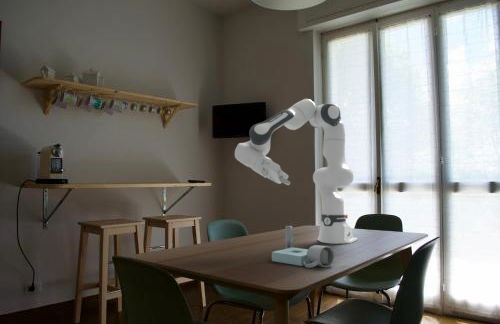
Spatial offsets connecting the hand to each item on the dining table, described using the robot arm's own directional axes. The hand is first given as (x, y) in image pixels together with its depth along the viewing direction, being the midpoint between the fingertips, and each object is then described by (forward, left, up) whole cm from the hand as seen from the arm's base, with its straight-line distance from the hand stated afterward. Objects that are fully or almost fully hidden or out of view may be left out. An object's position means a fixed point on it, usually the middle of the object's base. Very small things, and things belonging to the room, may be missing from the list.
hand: (288, 180), depth 176 cm
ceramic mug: (+18, +26, -32) cm, 45 cm away
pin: (+5, +4, -32) cm, 33 cm away
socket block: (+14, +14, -32) cm, 38 cm away
